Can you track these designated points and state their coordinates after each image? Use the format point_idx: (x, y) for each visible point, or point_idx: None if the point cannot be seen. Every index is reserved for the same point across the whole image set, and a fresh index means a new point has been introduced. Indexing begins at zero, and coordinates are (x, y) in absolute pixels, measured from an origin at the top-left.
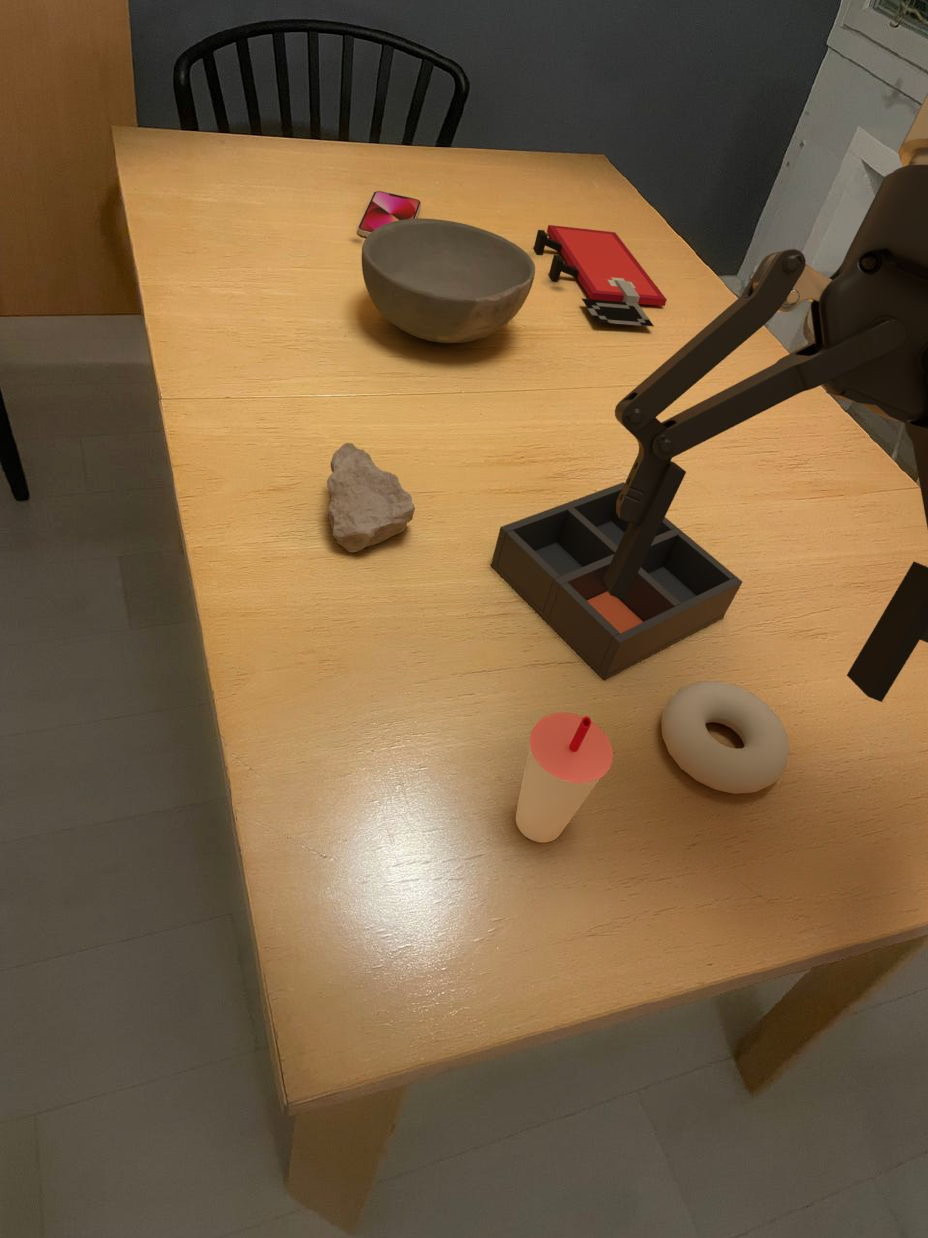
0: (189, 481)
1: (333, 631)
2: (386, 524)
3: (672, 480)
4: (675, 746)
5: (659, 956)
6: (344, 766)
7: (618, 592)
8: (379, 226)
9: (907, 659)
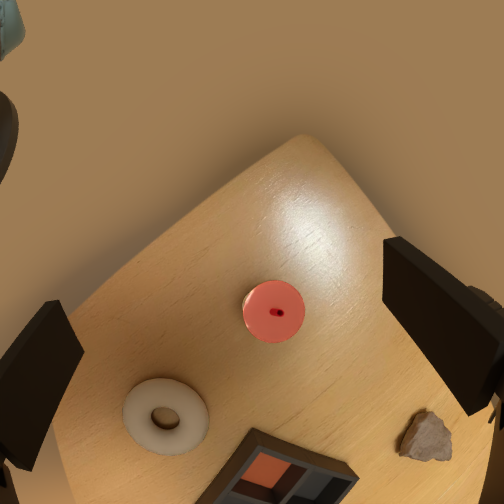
0: None
1: (407, 360)
2: (415, 435)
3: (497, 322)
4: (193, 393)
5: (166, 253)
6: (368, 281)
7: (396, 239)
8: None
9: (19, 334)
